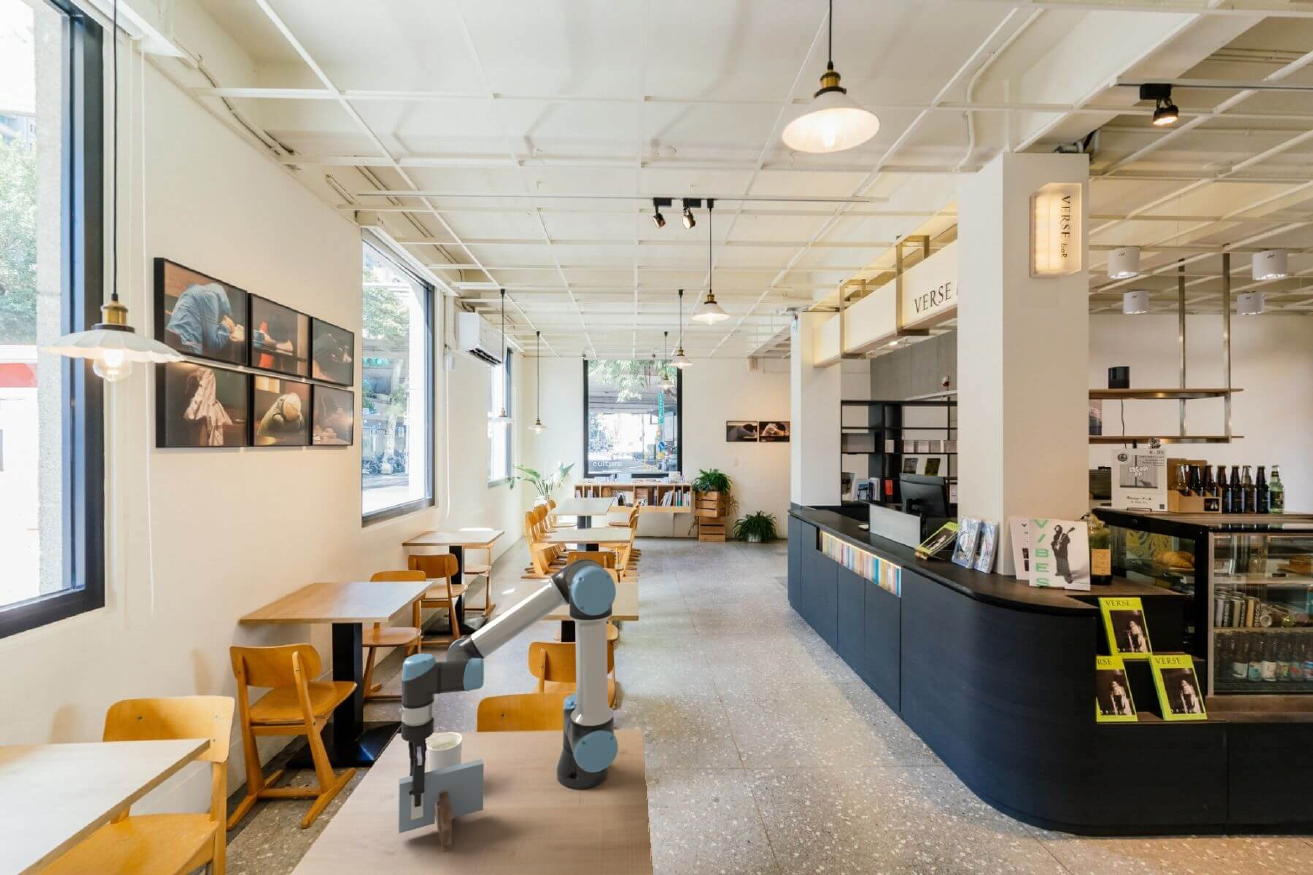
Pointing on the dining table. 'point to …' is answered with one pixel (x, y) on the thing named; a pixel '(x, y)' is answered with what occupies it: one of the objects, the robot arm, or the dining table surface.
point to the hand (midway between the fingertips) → (416, 813)
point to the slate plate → (455, 780)
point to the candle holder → (444, 751)
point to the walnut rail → (444, 820)
